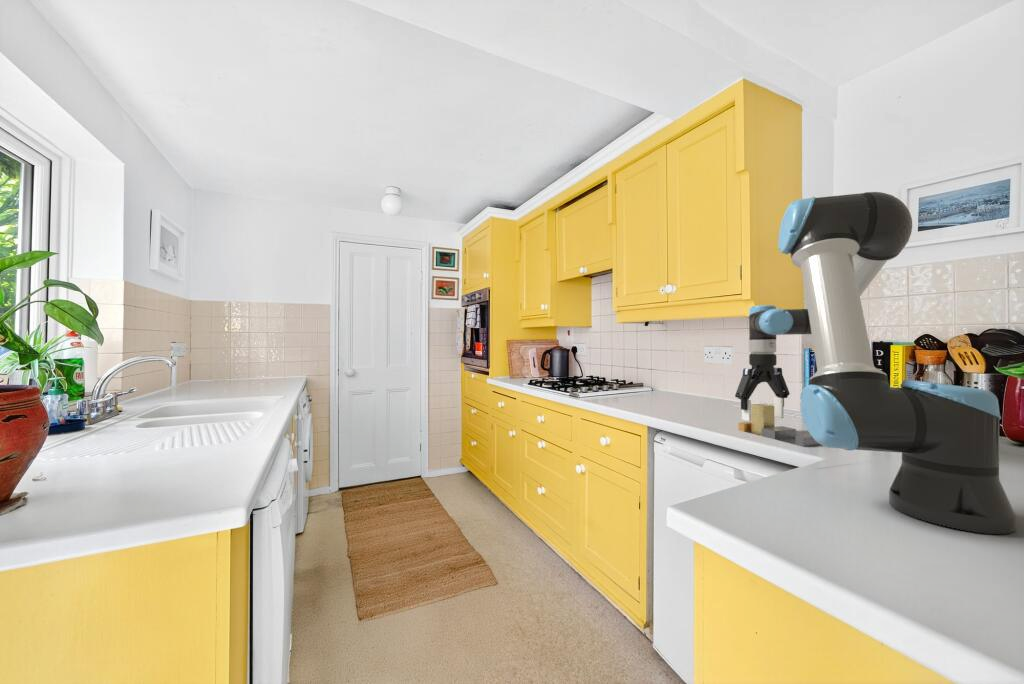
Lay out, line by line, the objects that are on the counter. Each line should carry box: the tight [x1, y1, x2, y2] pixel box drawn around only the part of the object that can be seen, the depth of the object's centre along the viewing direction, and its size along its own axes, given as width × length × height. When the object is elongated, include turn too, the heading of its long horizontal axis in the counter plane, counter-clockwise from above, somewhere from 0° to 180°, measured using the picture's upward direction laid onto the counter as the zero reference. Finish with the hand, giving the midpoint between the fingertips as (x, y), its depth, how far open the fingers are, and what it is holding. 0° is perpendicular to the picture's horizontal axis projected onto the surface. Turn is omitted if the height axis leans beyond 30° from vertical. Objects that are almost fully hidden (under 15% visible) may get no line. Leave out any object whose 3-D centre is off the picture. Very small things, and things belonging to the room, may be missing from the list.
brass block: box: [750, 403, 775, 434], centre depth 131 cm, size 4×4×9 cm
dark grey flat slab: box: [737, 421, 822, 448], centre depth 125 cm, size 8×22×3 cm, turn 17°
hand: (762, 418), depth 131 cm, fingers open, 13 cm apart
